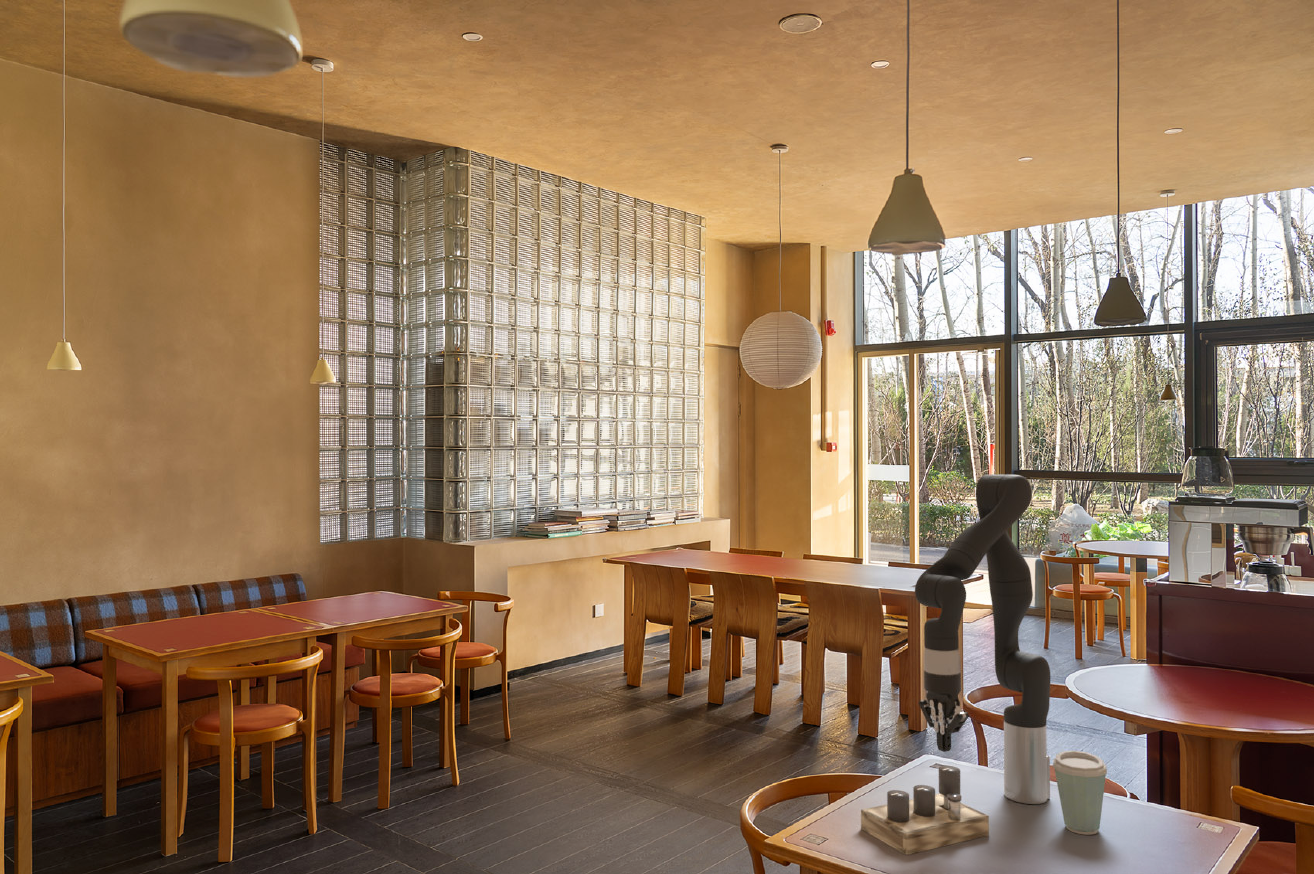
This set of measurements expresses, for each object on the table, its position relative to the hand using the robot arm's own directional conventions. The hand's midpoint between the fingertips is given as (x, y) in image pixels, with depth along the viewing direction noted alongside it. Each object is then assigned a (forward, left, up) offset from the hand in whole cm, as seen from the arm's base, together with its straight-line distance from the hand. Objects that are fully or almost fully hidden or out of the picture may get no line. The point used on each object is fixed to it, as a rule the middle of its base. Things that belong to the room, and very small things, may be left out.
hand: (944, 750), depth 192 cm
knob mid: (+6, 0, -15) cm, 16 cm away
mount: (+6, 0, -16) cm, 17 cm away
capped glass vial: (+2, +5, -12) cm, 13 cm away
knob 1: (+13, 0, -15) cm, 20 cm away
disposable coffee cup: (-25, +13, -16) cm, 33 cm away
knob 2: (-1, 0, -12) cm, 12 cm away
